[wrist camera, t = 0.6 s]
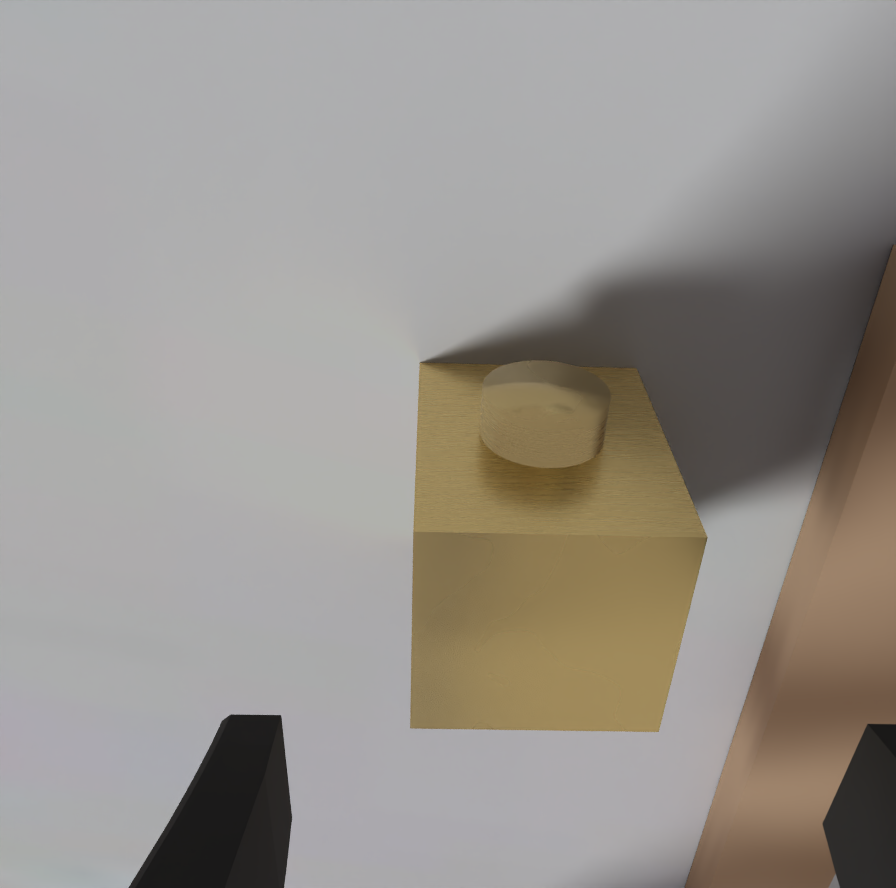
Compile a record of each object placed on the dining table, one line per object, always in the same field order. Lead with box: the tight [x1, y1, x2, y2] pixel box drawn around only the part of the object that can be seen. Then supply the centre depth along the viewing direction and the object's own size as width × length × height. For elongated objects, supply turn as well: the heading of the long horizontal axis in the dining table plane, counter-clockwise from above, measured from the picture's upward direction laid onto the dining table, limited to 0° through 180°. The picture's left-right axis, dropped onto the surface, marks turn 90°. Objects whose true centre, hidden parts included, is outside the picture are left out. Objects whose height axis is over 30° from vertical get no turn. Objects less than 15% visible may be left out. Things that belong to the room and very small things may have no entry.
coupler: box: [410, 360, 707, 732], centre depth 15 cm, size 6×4×5 cm
